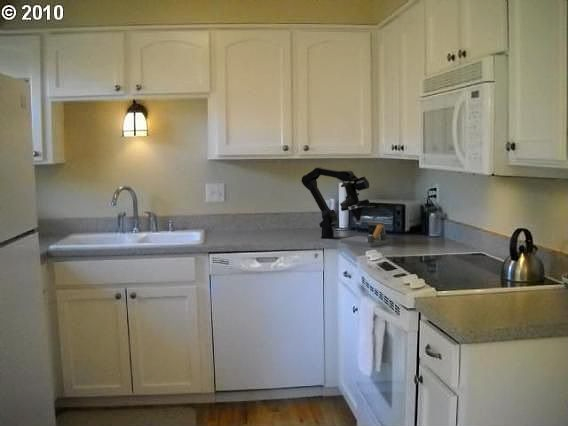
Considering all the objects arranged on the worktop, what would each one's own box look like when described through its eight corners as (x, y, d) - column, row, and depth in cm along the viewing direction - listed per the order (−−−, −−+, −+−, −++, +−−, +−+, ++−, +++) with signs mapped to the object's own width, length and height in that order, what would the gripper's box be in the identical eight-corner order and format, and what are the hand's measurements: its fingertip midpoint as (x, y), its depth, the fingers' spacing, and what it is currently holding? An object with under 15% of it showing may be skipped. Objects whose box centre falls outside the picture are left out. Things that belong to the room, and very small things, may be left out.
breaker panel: (340, 242, 303) (340, 232, 302) (357, 239, 313) (357, 229, 313) (370, 247, 289) (370, 236, 288) (387, 243, 299) (387, 233, 299)
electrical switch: (385, 237, 319) (385, 221, 317) (382, 239, 315) (381, 223, 313) (370, 236, 324) (370, 220, 322) (366, 238, 320) (366, 222, 318)
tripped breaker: (370, 239, 295) (376, 224, 291) (374, 238, 298) (381, 224, 294) (372, 241, 294) (379, 226, 290) (377, 240, 297) (384, 226, 293)
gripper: (330, 198, 312) (337, 226, 311) (350, 192, 296) (358, 221, 295) (345, 195, 317) (352, 222, 317) (366, 188, 302) (373, 217, 301)
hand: (358, 220), depth 307 cm, fingers closed
